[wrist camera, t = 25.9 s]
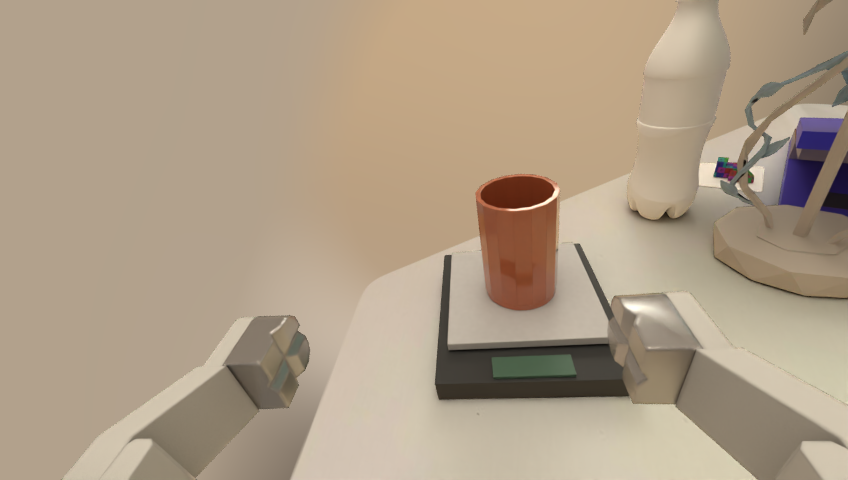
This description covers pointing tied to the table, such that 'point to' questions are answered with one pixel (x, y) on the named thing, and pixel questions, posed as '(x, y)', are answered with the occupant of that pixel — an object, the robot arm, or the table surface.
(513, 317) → the scale
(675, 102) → the water bottle
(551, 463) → the table surface
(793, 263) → the table lamp
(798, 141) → the stapler
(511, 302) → the cup
